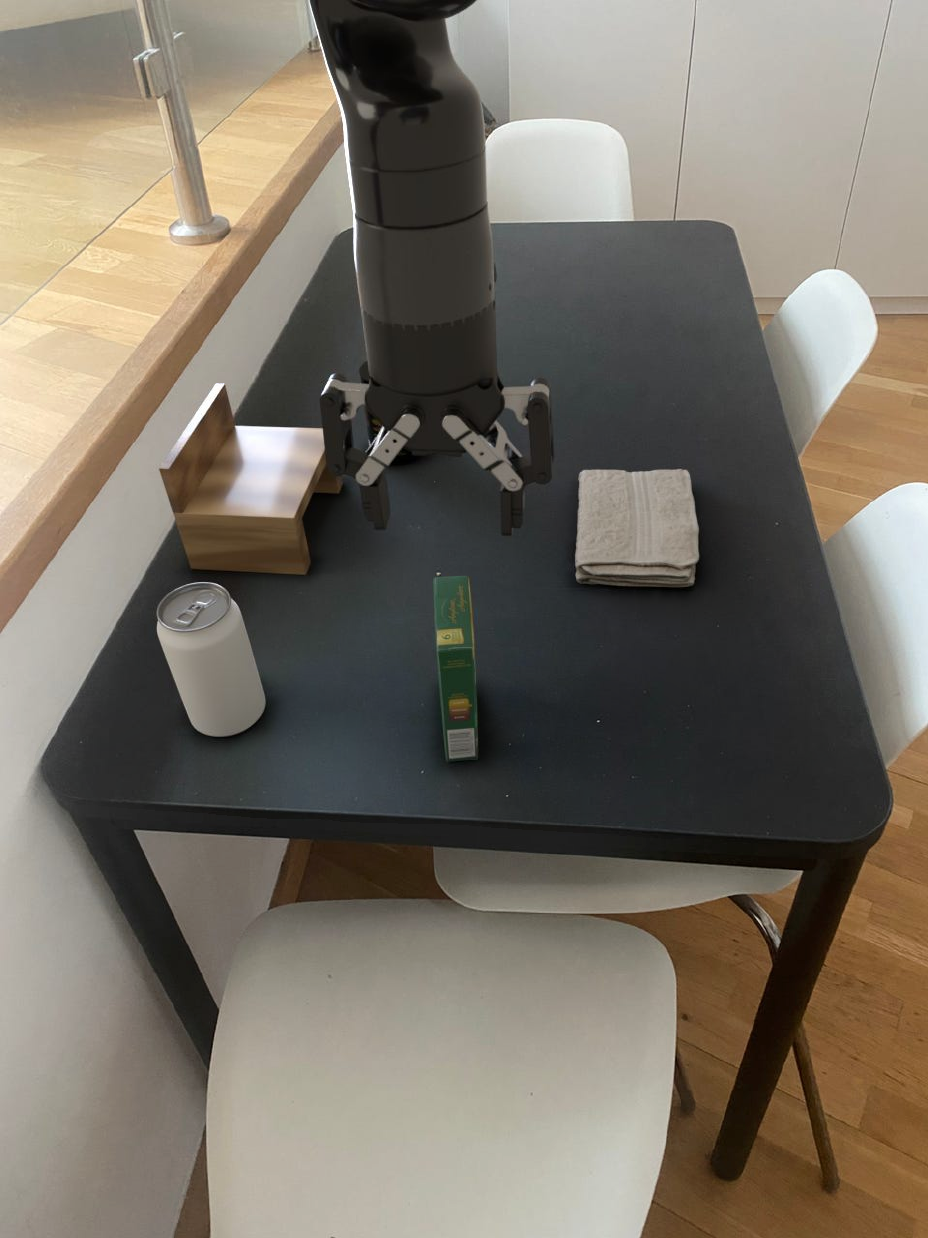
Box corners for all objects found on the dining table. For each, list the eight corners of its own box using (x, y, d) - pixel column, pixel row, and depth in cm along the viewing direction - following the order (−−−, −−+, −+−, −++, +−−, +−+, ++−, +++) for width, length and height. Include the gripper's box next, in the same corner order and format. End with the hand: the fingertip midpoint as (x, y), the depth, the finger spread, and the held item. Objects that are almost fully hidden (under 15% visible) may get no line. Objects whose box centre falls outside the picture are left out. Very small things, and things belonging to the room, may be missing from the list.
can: (281, 695, 79) (253, 590, 71) (237, 749, 75) (202, 644, 67) (220, 674, 81) (185, 570, 73) (174, 726, 77) (132, 621, 69)
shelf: (306, 575, 91) (284, 473, 83) (190, 569, 93) (158, 468, 84) (343, 483, 103) (327, 385, 94) (240, 479, 104) (216, 383, 96)
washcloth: (573, 590, 87) (575, 565, 85) (575, 482, 100) (576, 458, 98) (701, 593, 86) (705, 568, 84) (685, 484, 99) (689, 460, 97)
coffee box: (481, 764, 73) (475, 645, 64) (445, 766, 73) (433, 648, 64) (476, 689, 79) (470, 571, 70) (442, 691, 79) (432, 573, 70)
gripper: (283, 318, 49) (329, 556, 60) (551, 321, 47) (547, 566, 58) (318, 262, 54) (354, 489, 65) (560, 263, 52) (555, 497, 63)
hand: (445, 525), depth 62 cm, fingers open, 8 cm apart
